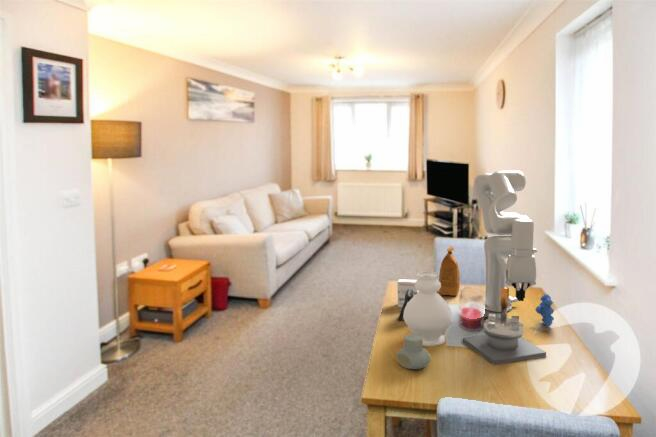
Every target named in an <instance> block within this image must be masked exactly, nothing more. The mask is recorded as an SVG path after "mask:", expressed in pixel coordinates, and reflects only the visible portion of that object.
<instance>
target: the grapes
mask: <svg viewBox="0 0 656 437" xmlns="http://www.w3.org/2000/svg"><path fill="white" fill-rule="evenodd" d="M540 301H541V302H540V303H539V305H537V306H536V307H535V310H534V311H535V312H536V313H537V314H539V315H540V316H541V317H542V318H541V321H542V323H543V324H544V325H545V326H546V327H548V328H549V327H551V326H552V325H553V321H554V320H555V318H554V317H553V313H554V312H555V310H554V308H553V307H552V305H553V304H554V302H553V301H552V297H551V296H550V294H548V293H544V294H543V295H542V296H541V297H540Z"/></svg>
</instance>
